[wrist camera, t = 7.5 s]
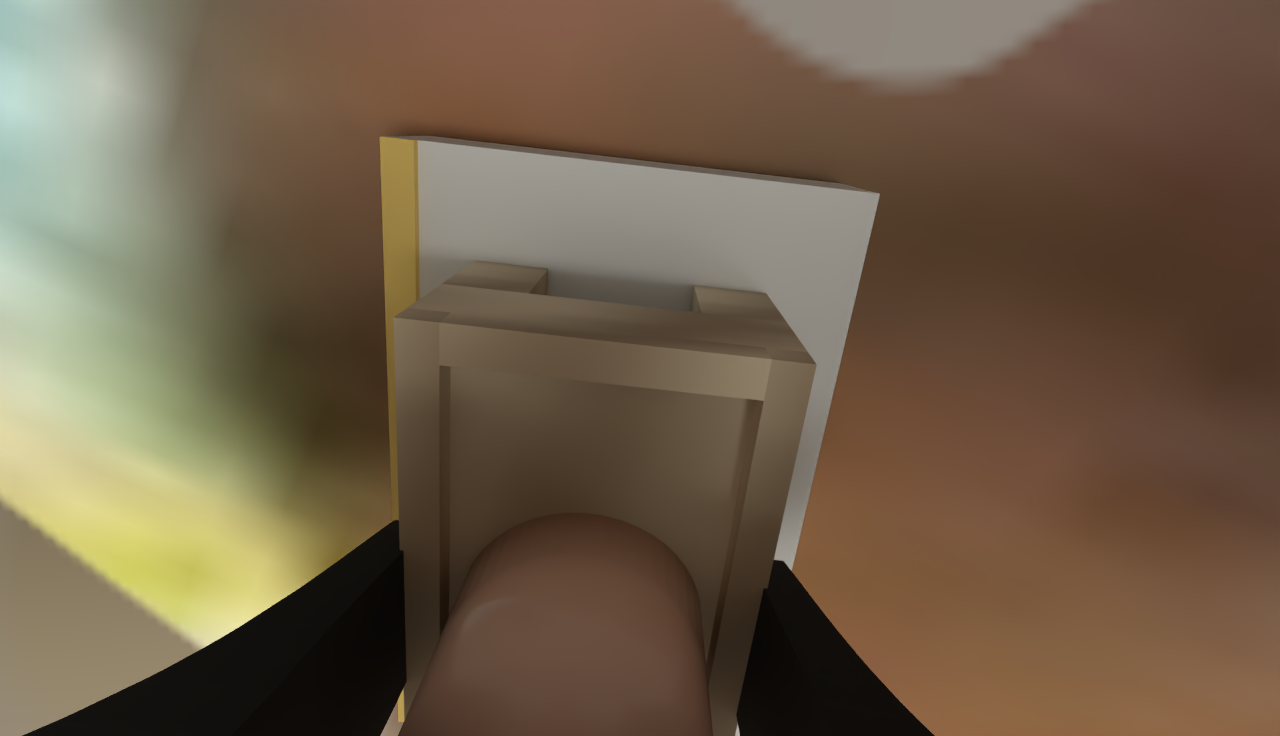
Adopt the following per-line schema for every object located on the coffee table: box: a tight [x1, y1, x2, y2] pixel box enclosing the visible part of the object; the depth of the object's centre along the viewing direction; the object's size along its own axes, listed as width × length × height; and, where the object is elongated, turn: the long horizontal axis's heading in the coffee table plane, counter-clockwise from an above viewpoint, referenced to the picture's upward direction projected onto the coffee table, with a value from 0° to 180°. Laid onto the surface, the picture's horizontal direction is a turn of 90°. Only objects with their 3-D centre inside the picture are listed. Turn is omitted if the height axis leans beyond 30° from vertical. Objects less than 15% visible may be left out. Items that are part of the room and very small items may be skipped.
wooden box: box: [393, 261, 817, 736], centre depth 12 cm, size 6×10×4 cm, turn 174°
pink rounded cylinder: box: [398, 513, 713, 736], centre depth 9 cm, size 4×4×3 cm
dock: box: [380, 136, 880, 736], centre depth 15 cm, size 9×14×3 cm, turn 174°
